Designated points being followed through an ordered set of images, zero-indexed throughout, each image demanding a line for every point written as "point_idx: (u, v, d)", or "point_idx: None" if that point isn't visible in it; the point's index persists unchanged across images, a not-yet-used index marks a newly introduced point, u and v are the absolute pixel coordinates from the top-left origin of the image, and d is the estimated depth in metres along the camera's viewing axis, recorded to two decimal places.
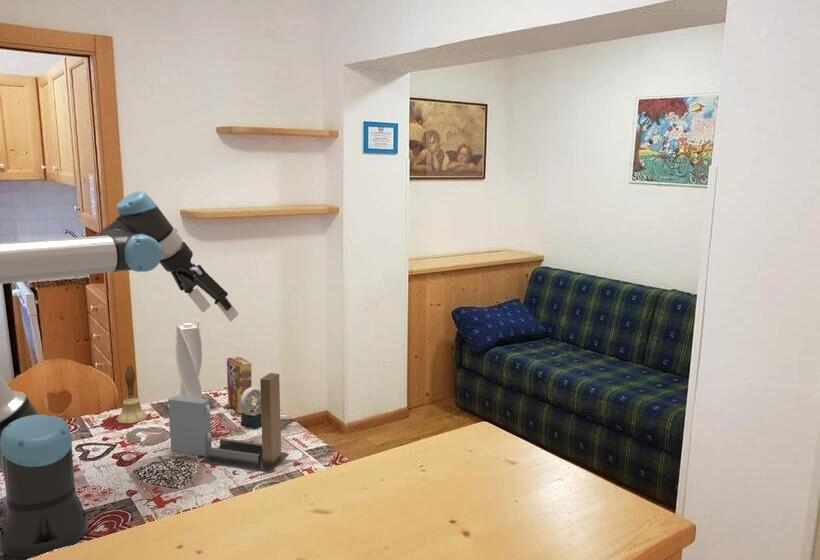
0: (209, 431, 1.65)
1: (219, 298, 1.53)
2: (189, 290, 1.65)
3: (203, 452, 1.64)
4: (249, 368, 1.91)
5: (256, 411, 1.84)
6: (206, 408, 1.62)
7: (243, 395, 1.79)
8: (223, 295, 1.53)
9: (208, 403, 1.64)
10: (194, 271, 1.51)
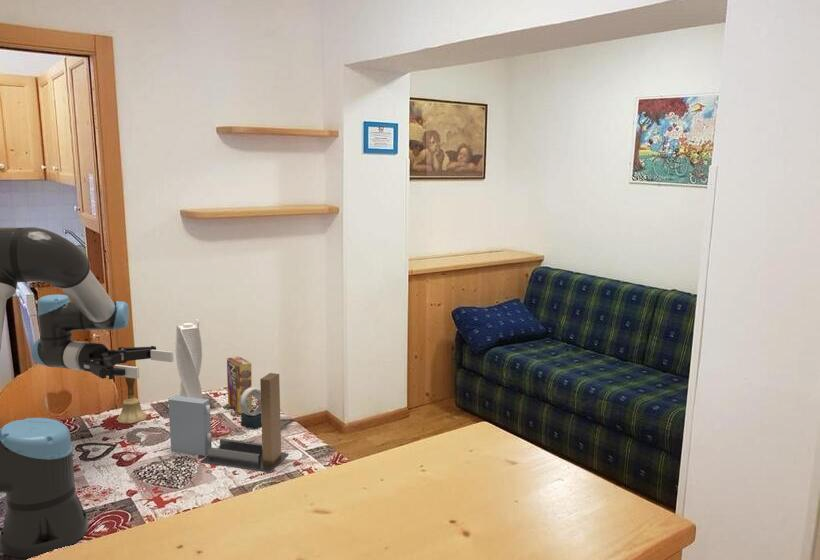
0: (209, 431, 1.65)
1: None
2: None
3: (203, 452, 1.64)
4: (249, 368, 1.91)
5: (256, 411, 1.84)
6: (206, 408, 1.62)
7: (243, 395, 1.79)
8: None
9: (208, 403, 1.64)
10: None
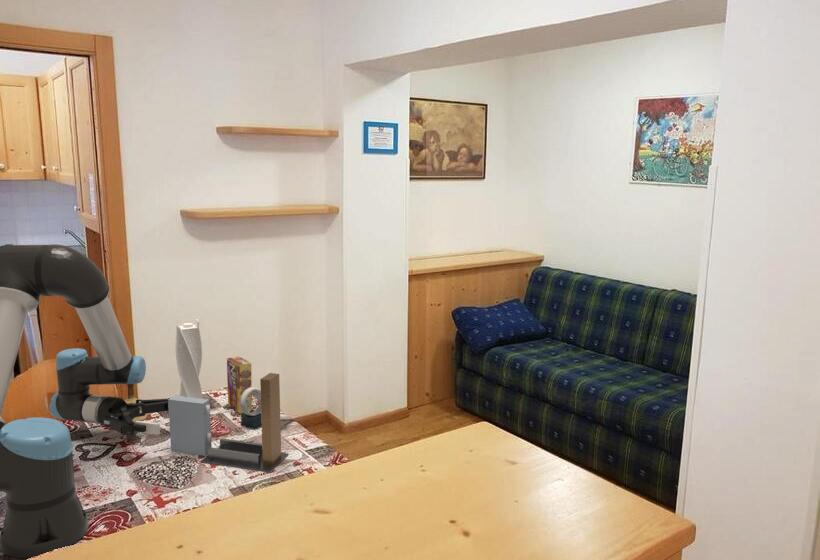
0: (209, 431, 1.65)
1: None
2: None
3: (203, 452, 1.64)
4: (249, 368, 1.91)
5: (256, 411, 1.84)
6: (206, 408, 1.62)
7: (243, 395, 1.79)
8: None
9: (208, 403, 1.64)
10: None
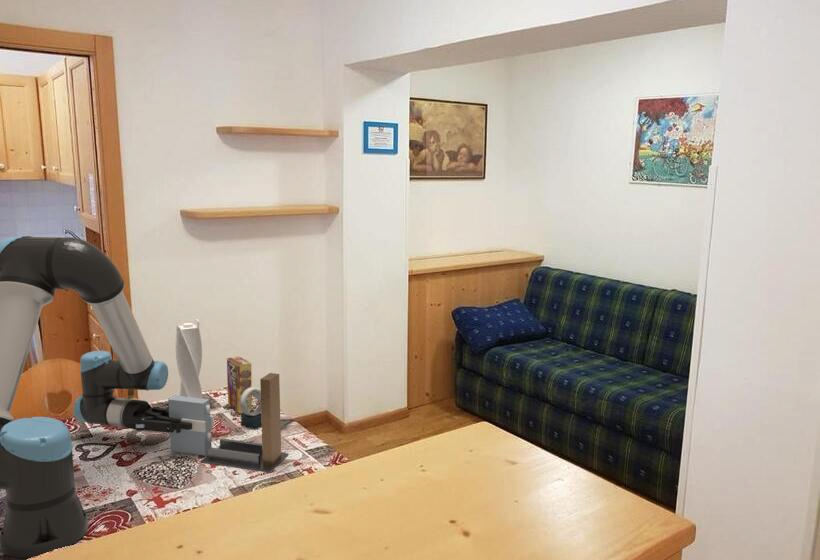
0: (209, 431, 1.65)
1: None
2: None
3: (203, 452, 1.64)
4: (249, 368, 1.91)
5: (256, 411, 1.84)
6: (206, 408, 1.62)
7: (243, 395, 1.79)
8: None
9: (208, 403, 1.64)
10: None
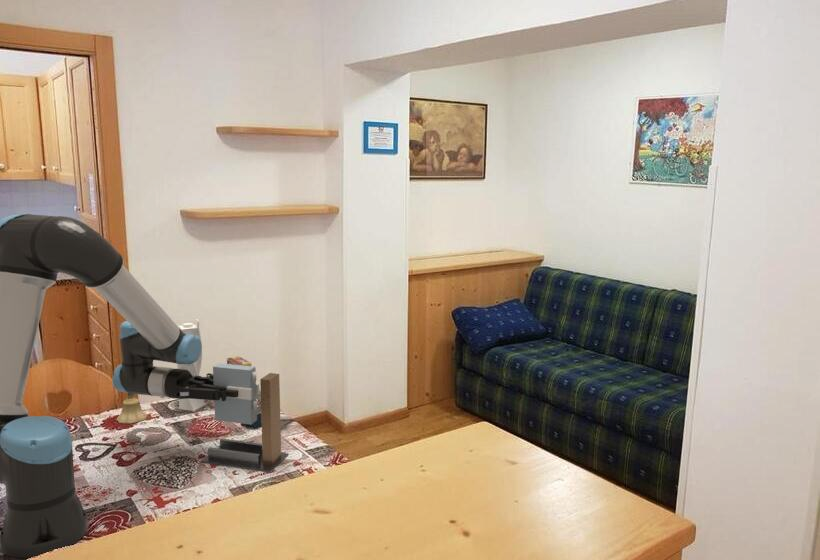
0: (255, 399, 1.60)
1: None
2: None
3: (249, 421, 1.59)
4: None
5: None
6: (252, 375, 1.58)
7: None
8: None
9: (254, 370, 1.59)
10: None
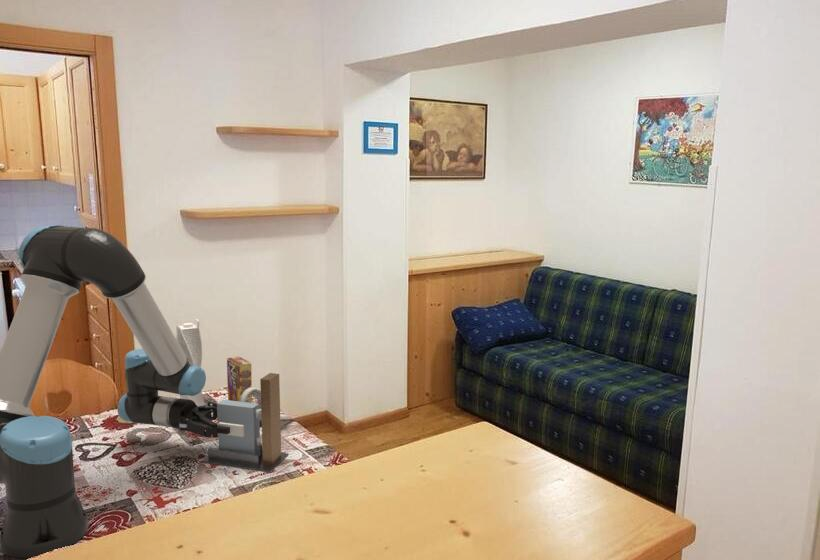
0: (258, 436, 1.61)
1: None
2: None
3: None
4: (249, 368, 1.91)
5: None
6: (256, 412, 1.59)
7: (243, 395, 1.79)
8: None
9: (258, 407, 1.60)
10: None
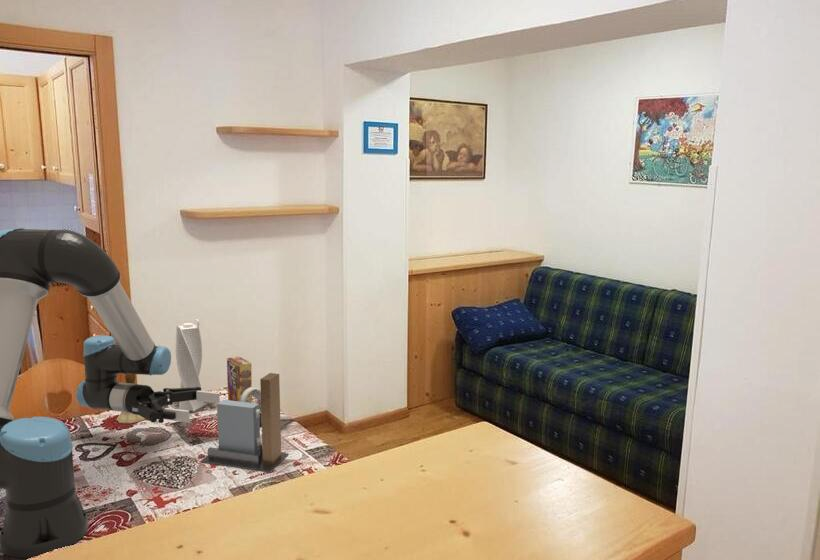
0: (258, 436, 1.61)
1: None
2: None
3: None
4: (249, 368, 1.91)
5: None
6: (256, 412, 1.59)
7: (243, 395, 1.79)
8: None
9: (258, 407, 1.60)
10: None
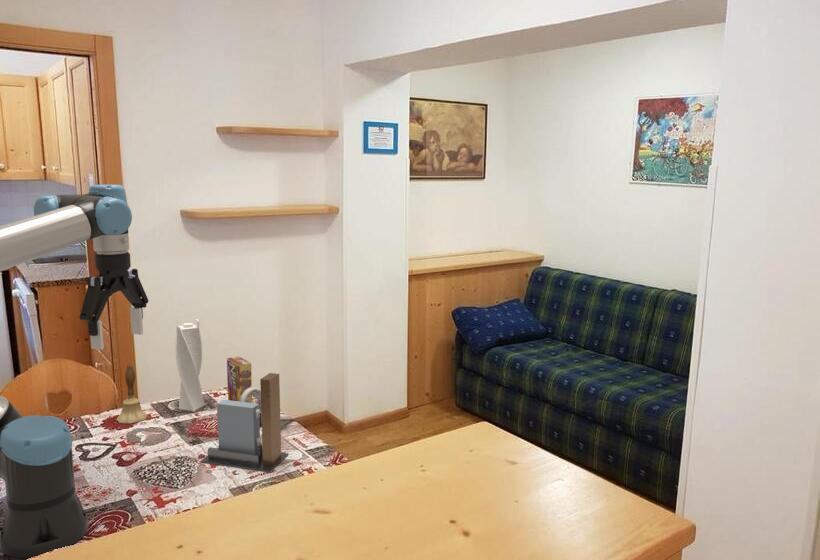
0: (258, 436, 1.61)
1: (80, 316, 1.41)
2: (135, 305, 1.58)
3: None
4: (249, 368, 1.91)
5: None
6: (256, 412, 1.59)
7: (243, 395, 1.79)
8: (84, 317, 1.41)
9: (258, 407, 1.60)
10: (89, 278, 1.43)
